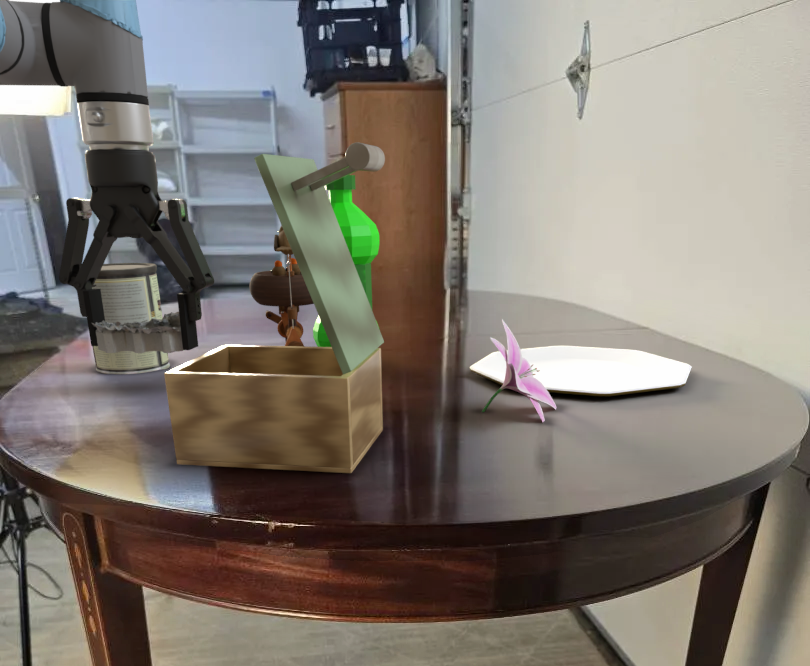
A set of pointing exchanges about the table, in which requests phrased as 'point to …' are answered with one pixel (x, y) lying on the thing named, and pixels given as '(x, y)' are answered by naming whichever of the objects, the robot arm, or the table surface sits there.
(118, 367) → the coffee can
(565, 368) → the plate
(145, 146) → the robot arm
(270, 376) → the tan wooden box
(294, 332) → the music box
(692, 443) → the table surface
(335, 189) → the plastic bottle
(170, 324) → the egg carton
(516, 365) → the lily
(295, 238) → the lid
